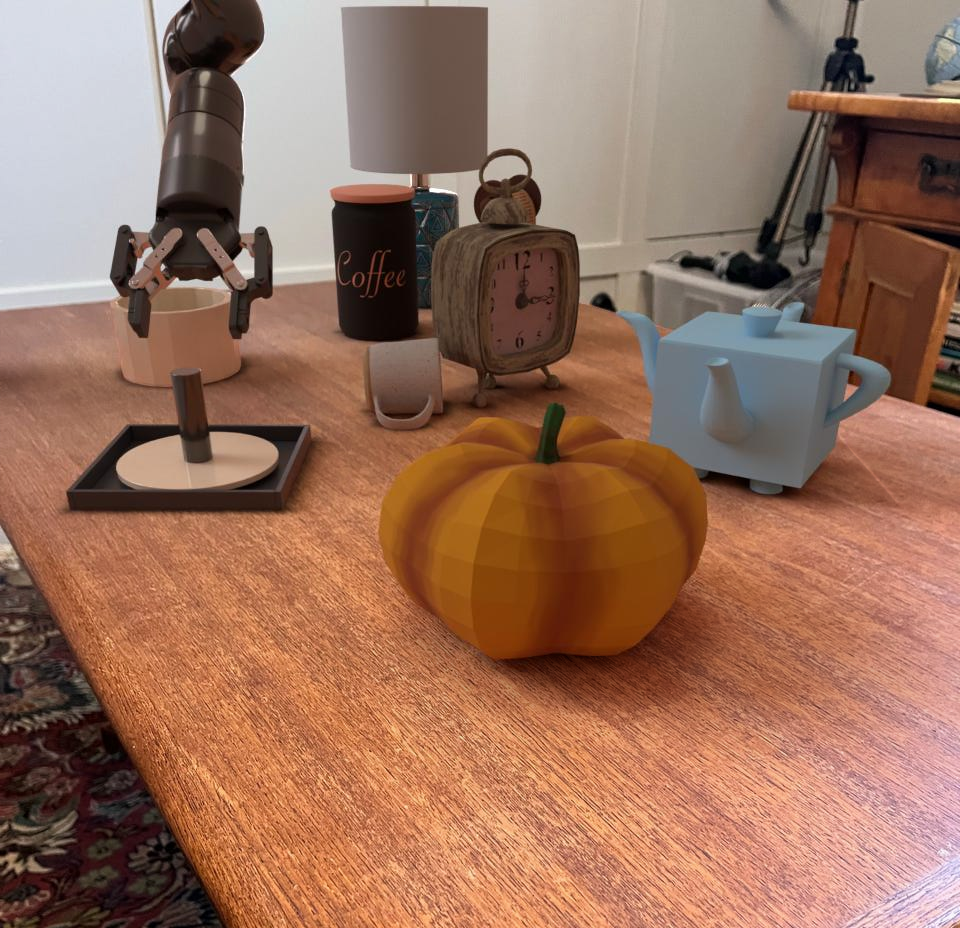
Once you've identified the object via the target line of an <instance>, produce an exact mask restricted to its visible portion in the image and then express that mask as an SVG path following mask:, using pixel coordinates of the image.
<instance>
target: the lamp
mask: <svg viewBox="0 0 960 928" xmlns="http://www.w3.org/2000/svg"><path fill="white" fill-rule="evenodd" d="M340 12H341V14H340V15H341V16H340V17H341V31H342V47H343V49H342V51H343V64H344V65H343V66H344V80H345V81H344V82H345V83H344V84H345V97H346V99H345V100H346V112H347V113H346V114H347V115H346V116H347V132H348V133H347V134H348V146H349V147H348V148H349V165H350V169H353V170H356V171H360V172H366V173H375V174H393V175H410V186H409V187H412V188H413V189H414V190H415V197H414V198H413V199H412V201H411V205H412V206H413V208H414V209H415V212H416V244H417V280H418V309H432V303H431V274H432V259H433V252H434V248H435V245H436V242H437V241H438V240H439V239H440V238H442V237H443V236H444V235H446V234H447V233H449V232H450V231H452V230H454V229H456V228H460V203H459V201H460V200H459V195H458V194H457V193H456V192H453V191H450V190H446V189H441V188H431V186H430V184H429V175H438V174H454V173H457V174H458V173H467V172H474V171H479V170H480V167H481V164H482V162H483V161H484V159H485V158H486V157H487V156H488V155H489V154H488V153H489V150H488V143H489V142H488V139H489V138H488V137H489V134H488V132H489V131H488V130H489V128H488V126H489V124H488V122H489V119H488V118H489V113H488V112H489V111H488V110H489V93H488V92H489V7H488V6H487V7H486V6H464V5H463V6H459V5H456V6H455V5H453V6H452V5H451V6H450V5H440V6H439V5H378V6H377V5H371V6H370V5H369V6H366V5H365V6H361V5H360V6H341V7H340ZM488 165H489V164H488ZM488 165H487V166H486V168H487V167H488Z"/></svg>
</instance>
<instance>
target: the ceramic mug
mask: <svg viewBox="0 0 960 928" xmlns="http://www.w3.org/2000/svg"><path fill="white" fill-rule="evenodd" d="M441 365H442V364H441V352H440V348H439V340H438V338H435V337H429V338H421V339H410V340H401V341H385V342H379V343H375V344H372V345H369V346H367V347H365V349H364V351H363V356H362V371H363V388H364V396H365V401H366V406H367V409H369V410H370V411H371V412H372V413H375V415H376V419H377V420H378V422H379V424H380V425H381V426H383V428H386V429H390V430H397V431H400V430H401V431H407V430H416V429H420V428H422V427H423V426H425V425H426V424H427V423H428V422H429V420H430V418H431V416H432V415H433V414H434V415H435V414H436V415H439V414H442V413H443V412H444V402H443V401H444V400H443V396H444V395H443V383H442V382H443V380H442V379H443V378H442V366H441ZM399 414H401V415H403V414H410V415H413V414H414V415H415V416H413V417H411V418H407V419H403V418H402V419H398V418H397V419H396V418H391V417H389V416H386V415H399Z"/></svg>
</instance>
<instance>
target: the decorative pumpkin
mask: <svg viewBox="0 0 960 928" xmlns="http://www.w3.org/2000/svg"><path fill="white" fill-rule="evenodd" d="M566 414H567V411H566V409H565V407H564V405H563V404H560V403H558V402H556V401H554V402H551V403H549V404H548V405H547V407H546V410H545V414H544V417H543V421H542V426H533V425H530V424H527V423H524V422H521V421H517V420H513V419H508V418H504V417H498V416H497V417H496V416H495V417H493V416H492V417H489V416H488V417H486V416H485V417H483V416H482V417H478V418H477V419H475V420H474V421H473V422H471V423H470V424H469V425H468V426H467V427H466V428H465V429H463V430H462V431H461V432H459V433H458V434H457V435H455V436H454V437H453V438H451V439H449V440H448V441H447V442H445V443H444V444H443V445H442V447H440V448H438V449H434V450H431V451H428V452H425V453H424V454H422V455H421V456H419V458H417V459H416V460H415V461H413V462H412V463H411V464H410V465H408V466H407V467H405V468H404V469H403V470H401V472H399V473H398V474H397V476H396V477H395V479H394V481H393V482H392V483H391V484H392V485H391V486H390V487H389V490H388V491H387V492H386V494H385V496H384V499H383V500H382V502H381V509H380V515H379V522H378V528H377V529H378V530H377V534H378V538H379V542H380V547H381V550H382V554H383V558H384V563H385V565H386V567H387V568H388V569H389V571H390V572H391V574H392V575H393V576H394V579H395V580H396V581H397V583H398V585H399V586H400V588H401V589H402V590H403V591H404V593H405V594H406V595H407V596H408V598H410V600H411V601H412V602H413V603H414V604H415V605H417V606H419V607H420V608H422V609H424V610H425V611H426V612H427V613H429V614H431V615H432V616H433V617H435V618H437V619H438V620H439V621H441V622H442V624H444V625H445V626H446V627H447V628H448V629H449V630H450V631H451V632H452V633H453V634H454V635H455V636H457V637H458V638H460V639H462V640H463V641H464V642H466V643H468V644H470V645H471V646H473V647H475V648H476V649H477V650H479V651H480V652H482V653H483V654H485V655H486V656H488V657H489V658H490V659H492V660H509V659H510V660H512V659H524V658H525V659H526V658H530V657H531V658H532V657H538V656H544V655H550V654H562V655H563V654H566V655H575V656H584V657H585V656H587V657H591V656H592V657H593V656H595V657H597V656H599V657H600V656H617V655H618V654H620V653H622V652H625V651H627V650H629V649H631V648H633V647H635V646H637V645H638V644H639V643H640V642H641V641H642V640H643V639H644V638H645V637H646V636H647V635H649V633H650V632H652V631H653V630H654V629H655V628H656V626H657V625H658V624H659V623H660V622H661V621H662V619H663V617H664V616H665V615H666V614H667V613H668V611H669V610H670V609H671V608H672V606H673V604H674V602H675V601H676V599H677V598H678V596H679V594H680V592H681V591H682V589H683V587H684V586H685V584H687V582H688V581H689V580H690V578H691V577H692V575H693V574H694V573H695V572H696V570H697V568H698V566H699V563H700V560H701V556H702V555H703V551H704V547H705V544H706V541H707V534H708V526H709V519H708V517H709V516H708V502H707V493H706V490H705V489H704V487H703V485H702V482H701V481H700V478H698V477H697V475H696V473H695V471H694V469H693V467H692V466H690V465H689V464H688V463H687V462H685V461H684V460H683V459H682V458H680V457H679V456H678V455H677V454H675V453H674V452H673V451H671V450H670V449H669V448H667V447H663V446H659V445H655V444H651V443H649V442H647V441H643V440H639V439H634V438H625V437H623V436H622V435H621V434H620V433H619V432H618V431H616V429H613V428H612V427H611V426H609V425H608V424H606V423H604V422H602V421H601V420H599V419H598V418H596V417H595V416H594V415H592V414H587V415H576V416H572V417H568V418H565V417H566Z"/></svg>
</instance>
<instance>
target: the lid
mask: <svg viewBox="0 0 960 928" xmlns="http://www.w3.org/2000/svg"><path fill="white" fill-rule="evenodd" d="M170 375H171V381H172V387H171V388H172V394H173V399H174V400H173V401H174V405H175V412H176V420H177V424H178V426H179V432H180V435H175V436H170V437H165V438H161V439H157V440H154V441H151V442H148V443H145V444H142V445H140V446H138V447H135V448H133V449H132V450H130V451H128V452H127V453H125V454H124V455H123V456H122V457H121V458H120V459H119V460H118V462H117V465H116V471H117V476H118V478H119V479H120V480H121V481H122V482H123V483H124V484H126V485H127V486H129V487H131V488H134V489H137V490H230V489H234V488H238V487H241V486H245V485H248V484H250V483H253V482H255V481H258V480H260V479H262V478H263V477H265V476H267V475H268V474H270V473H271V472H272V471H273V470H274V469H275V468H276V467H277V465H278V463H279V452H278V450H277V448H276V447H275V446H274V445H273V444H272V443H270V442H269V441H267V440H265V439H262V438H259V437H256V436H252V435H247V434H240V433H231V432H210V431H209V424H210V423H209V417H208V409H207V405H206V397H205V390H204V384H203V382H202V375H201V370H200V369H198V368H194V367H183V368H177V369H174V370H172V371H171V372H170Z"/></svg>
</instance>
